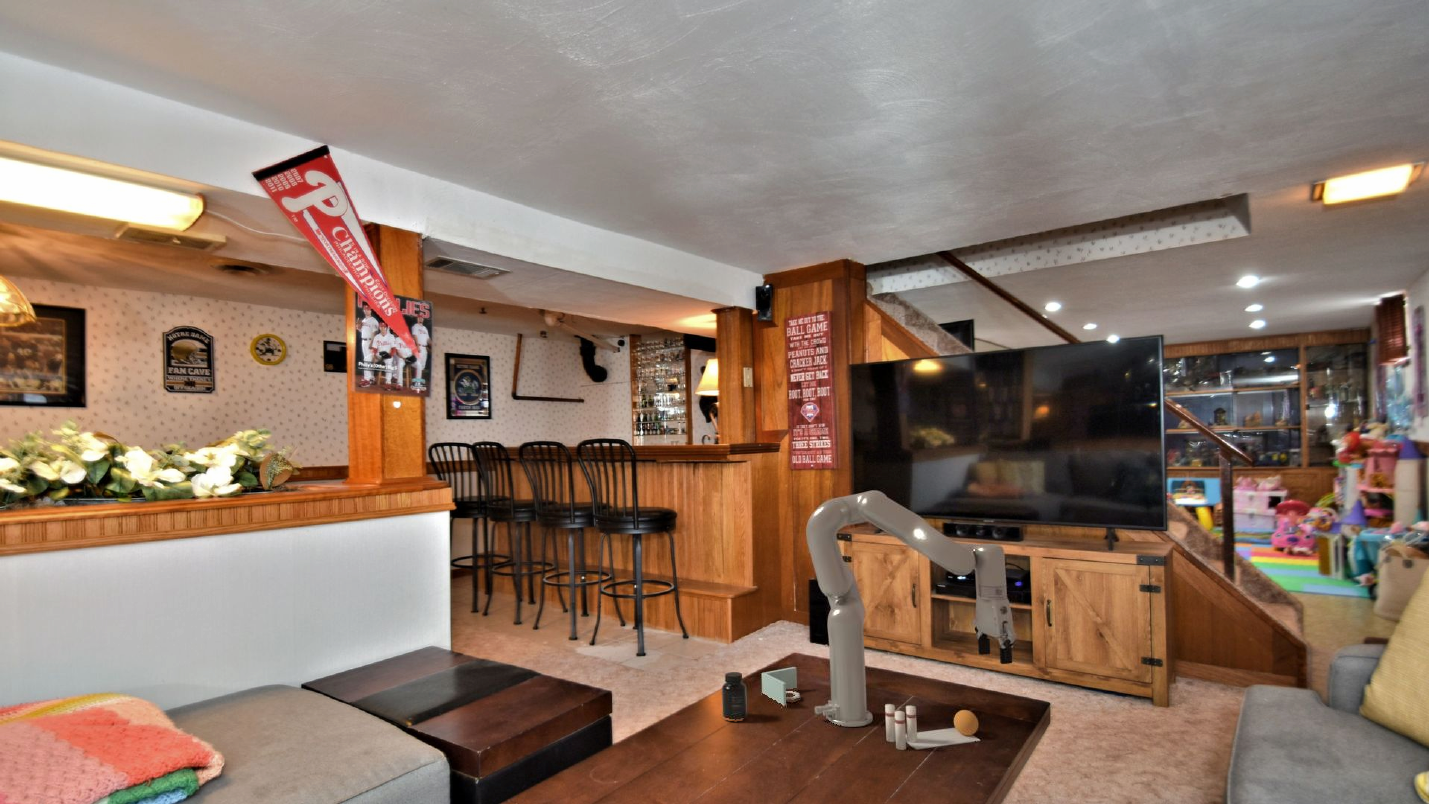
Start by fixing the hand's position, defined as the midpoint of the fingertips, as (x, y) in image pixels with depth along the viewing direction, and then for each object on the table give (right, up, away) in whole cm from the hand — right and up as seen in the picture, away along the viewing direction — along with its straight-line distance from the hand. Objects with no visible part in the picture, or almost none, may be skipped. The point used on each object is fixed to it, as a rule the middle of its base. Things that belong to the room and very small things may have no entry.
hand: (995, 658), depth 186 cm
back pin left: (-29, -19, -6) cm, 35 cm away
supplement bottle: (-68, -21, +11) cm, 72 cm away
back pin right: (-28, -18, -11) cm, 35 cm away
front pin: (-24, -18, -7) cm, 31 cm away
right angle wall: (-51, -22, +26) cm, 62 cm away
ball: (-9, -15, -3) cm, 18 cm away
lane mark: (-17, -18, -6) cm, 25 cm away
